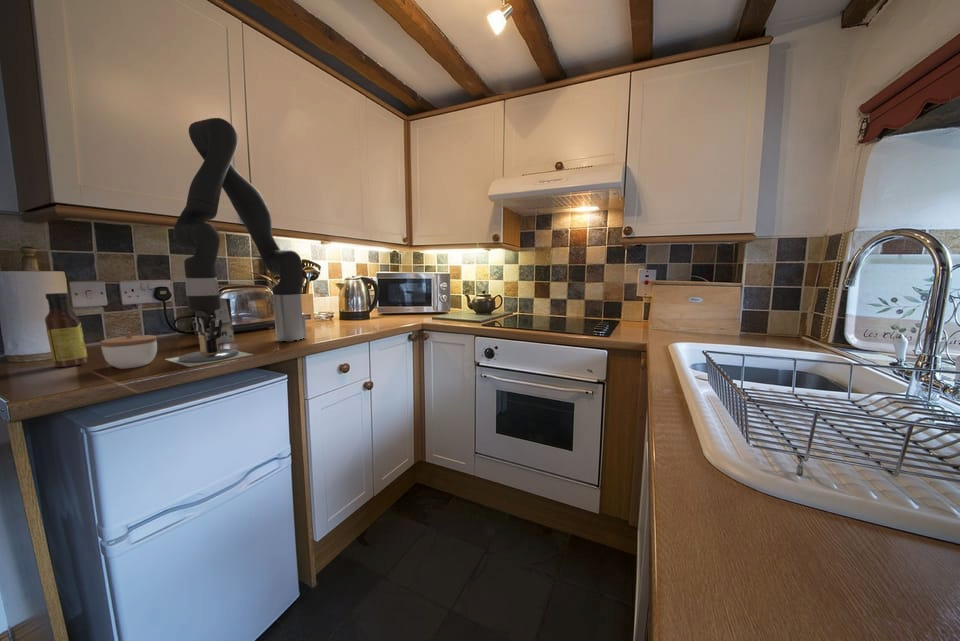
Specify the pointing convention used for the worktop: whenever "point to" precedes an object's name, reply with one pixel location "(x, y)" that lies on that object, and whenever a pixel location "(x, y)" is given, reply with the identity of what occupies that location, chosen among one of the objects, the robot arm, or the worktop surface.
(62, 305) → the sauce bottle
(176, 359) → the mat
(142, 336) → the lidded jar
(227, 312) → the coffee box
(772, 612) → the worktop surface
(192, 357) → the lid
